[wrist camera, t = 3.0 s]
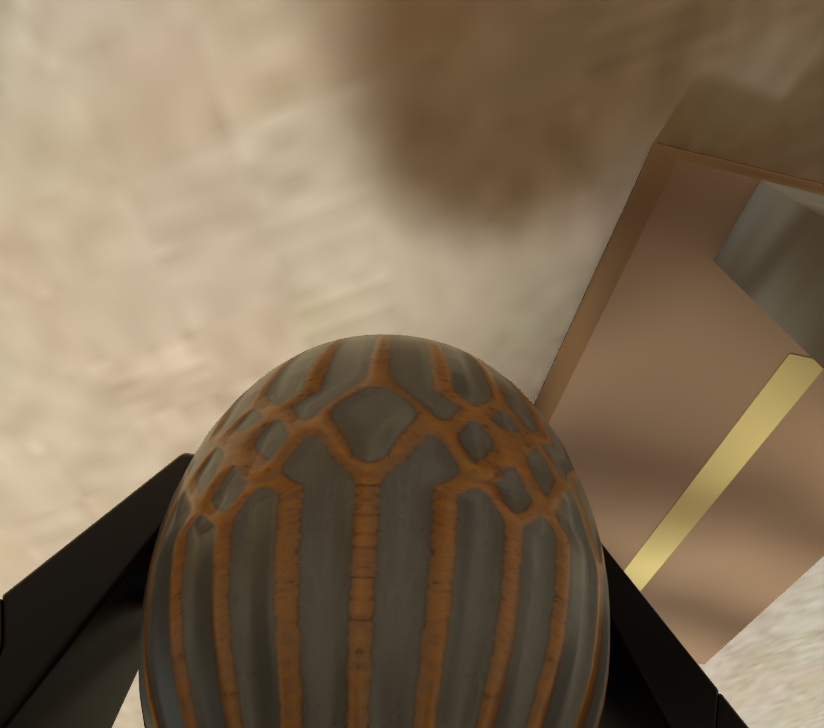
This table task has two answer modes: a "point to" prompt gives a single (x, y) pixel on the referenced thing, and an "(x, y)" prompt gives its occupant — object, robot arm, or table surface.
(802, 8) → the table surface
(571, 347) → the wooden board with block
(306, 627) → the vase
